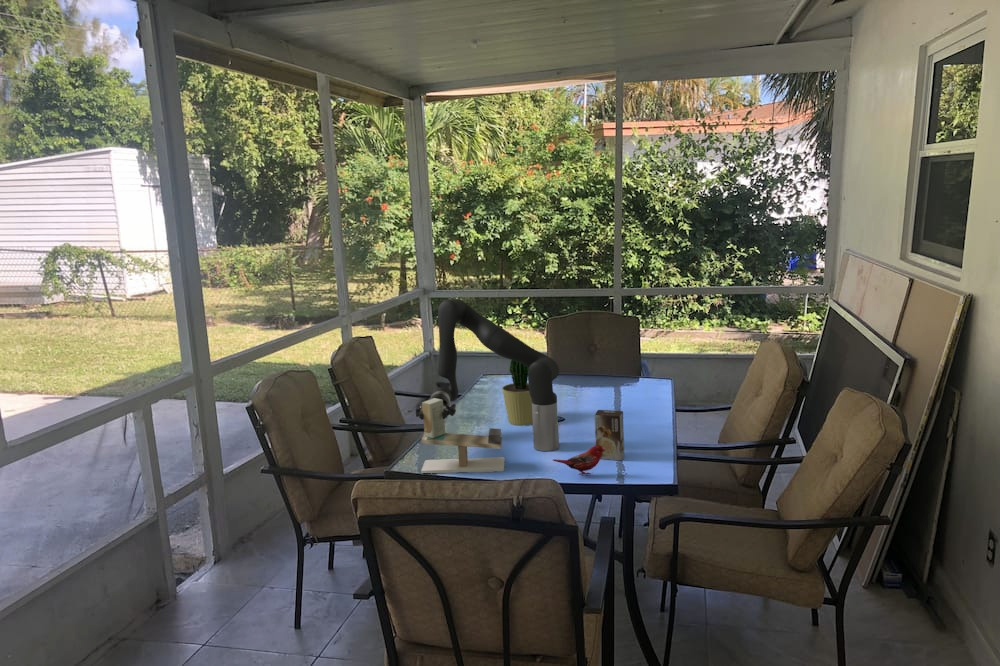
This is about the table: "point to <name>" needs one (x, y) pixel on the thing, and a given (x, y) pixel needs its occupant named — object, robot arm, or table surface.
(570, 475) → the table surface
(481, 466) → the beam stand
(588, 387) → the table surface
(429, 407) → the skincare box
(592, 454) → the decorative bird figurine
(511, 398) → the potted cactus
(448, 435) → the balance beam
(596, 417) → the coffee box
